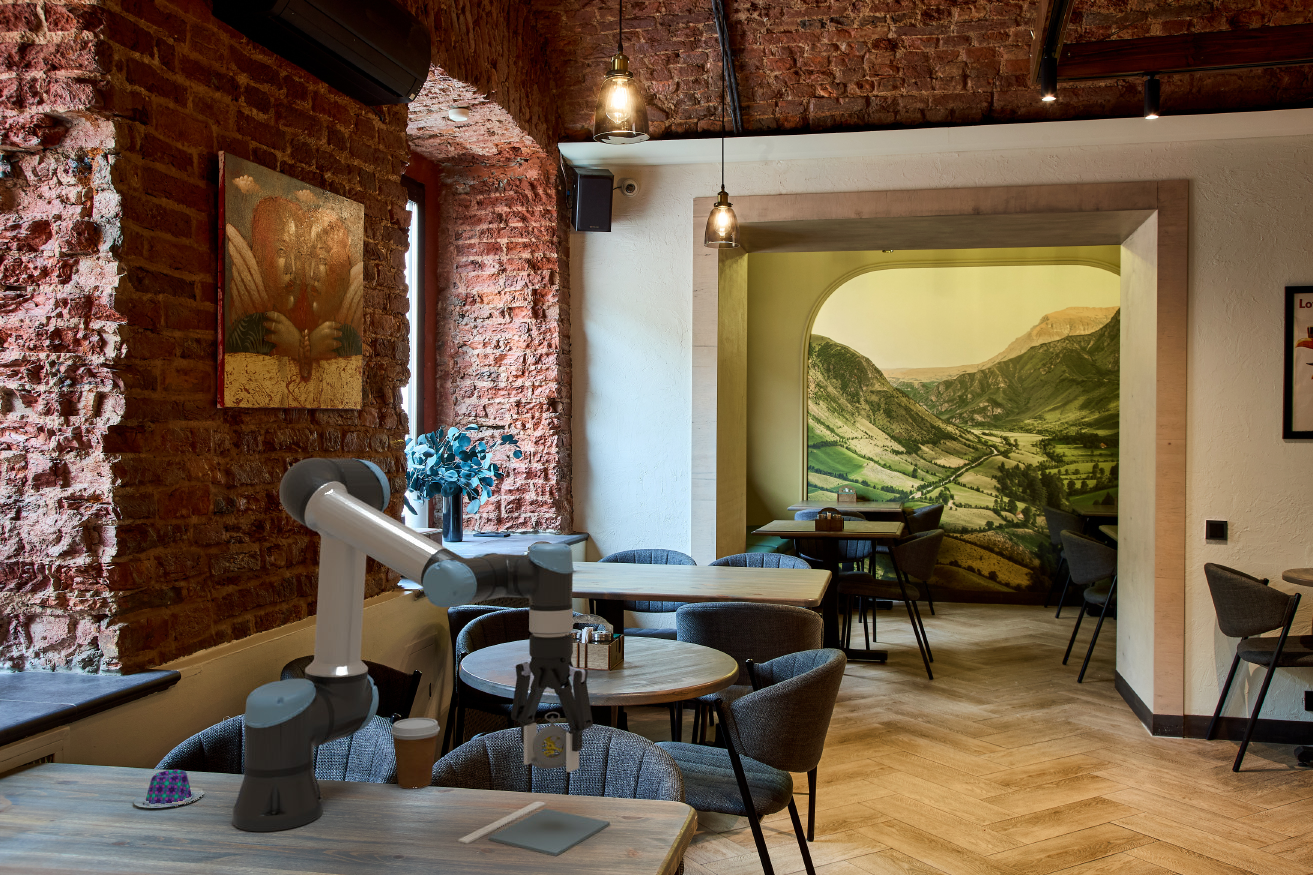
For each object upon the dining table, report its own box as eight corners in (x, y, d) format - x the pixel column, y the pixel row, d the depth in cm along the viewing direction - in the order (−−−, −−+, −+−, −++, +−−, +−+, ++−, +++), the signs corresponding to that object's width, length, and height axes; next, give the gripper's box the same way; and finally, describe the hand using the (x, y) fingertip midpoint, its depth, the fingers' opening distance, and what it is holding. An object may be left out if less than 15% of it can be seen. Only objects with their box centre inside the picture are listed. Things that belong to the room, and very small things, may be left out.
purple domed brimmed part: (215, 791, 186) (216, 764, 187) (182, 812, 174) (183, 783, 175) (156, 790, 187) (156, 763, 187) (118, 811, 175) (119, 782, 175)
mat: (488, 839, 160) (488, 836, 160) (545, 811, 174) (545, 808, 174) (556, 856, 153) (556, 852, 153) (609, 824, 167) (609, 821, 167)
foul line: (458, 841, 160) (458, 839, 160) (537, 802, 179) (537, 801, 179) (467, 843, 159) (467, 841, 159) (545, 804, 178) (545, 802, 178)
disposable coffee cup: (426, 793, 184) (427, 730, 185) (381, 789, 186) (382, 727, 187) (447, 778, 194) (447, 718, 194) (403, 775, 195) (404, 716, 196)
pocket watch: (553, 757, 170) (553, 700, 171) (584, 767, 164) (584, 708, 165) (516, 766, 164) (516, 708, 165) (546, 777, 158) (546, 716, 159)
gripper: (614, 634, 163) (614, 768, 162) (516, 626, 174) (516, 752, 173) (589, 641, 157) (590, 781, 156) (489, 631, 167) (489, 762, 166)
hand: (551, 765), depth 164 cm, fingers closed on pocket watch, 8 cm apart
